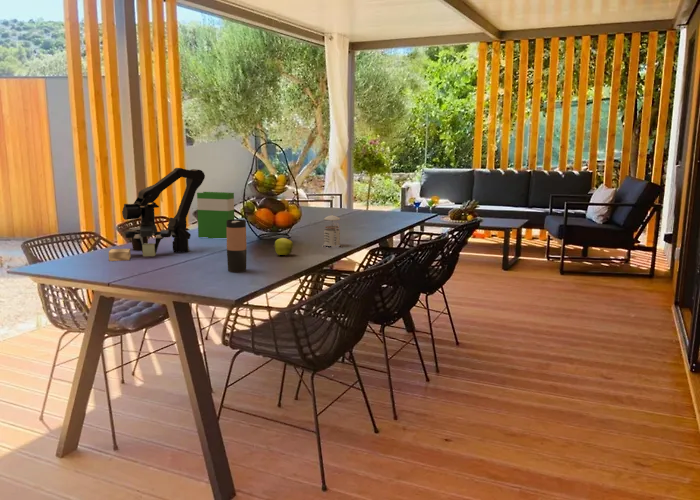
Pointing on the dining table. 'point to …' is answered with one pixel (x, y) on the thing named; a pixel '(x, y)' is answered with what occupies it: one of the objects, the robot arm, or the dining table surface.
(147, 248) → the yellow cube
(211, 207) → the cereal box
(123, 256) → the oak block
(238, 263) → the travel mug
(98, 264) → the dining table surface
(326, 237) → the french press
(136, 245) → the coffee mug
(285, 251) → the apple
